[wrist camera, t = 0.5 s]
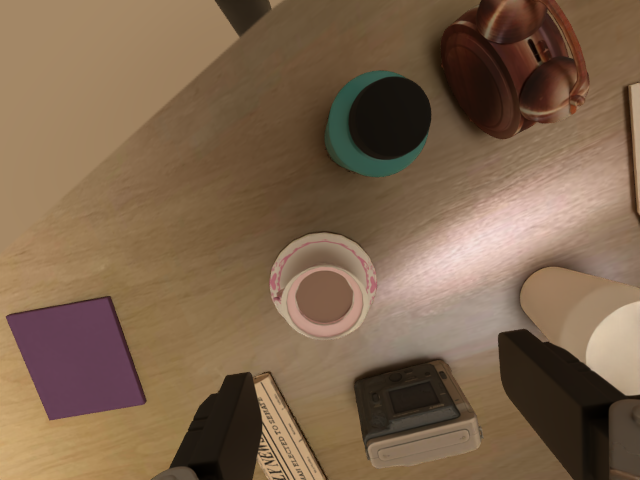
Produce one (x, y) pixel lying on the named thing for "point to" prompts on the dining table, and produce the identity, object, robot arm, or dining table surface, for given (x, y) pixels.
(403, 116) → the beverage bottle
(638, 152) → the marker
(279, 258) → the teacup
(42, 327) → the purple square board
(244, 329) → the dining table surface
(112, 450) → the dining table surface
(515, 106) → the alarm clock
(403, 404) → the camera
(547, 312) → the cup
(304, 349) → the dining table surface
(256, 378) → the newspaper
